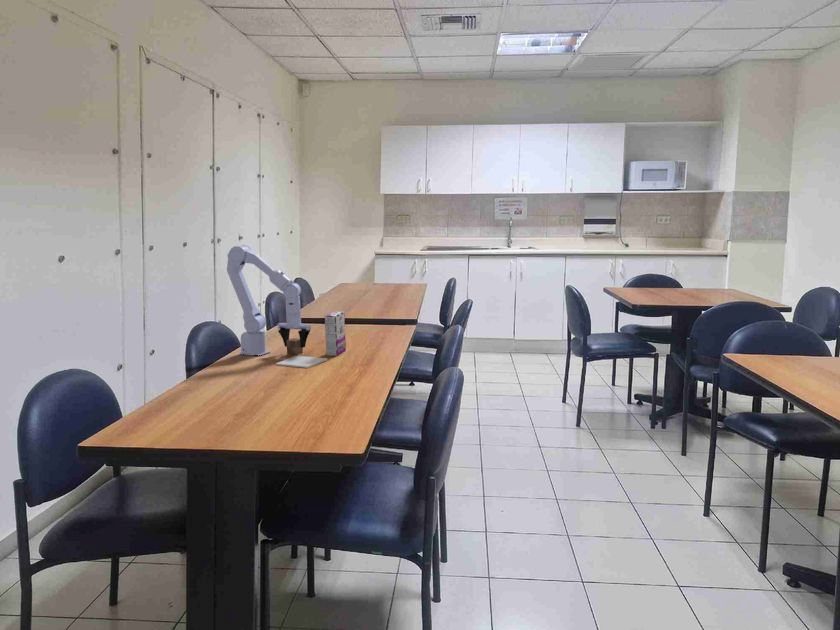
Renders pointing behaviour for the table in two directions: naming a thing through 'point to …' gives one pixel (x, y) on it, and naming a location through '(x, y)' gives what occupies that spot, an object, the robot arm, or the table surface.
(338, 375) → the table surface
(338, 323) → the candy bar box
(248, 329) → the robot arm
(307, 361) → the pad
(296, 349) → the walnut block
